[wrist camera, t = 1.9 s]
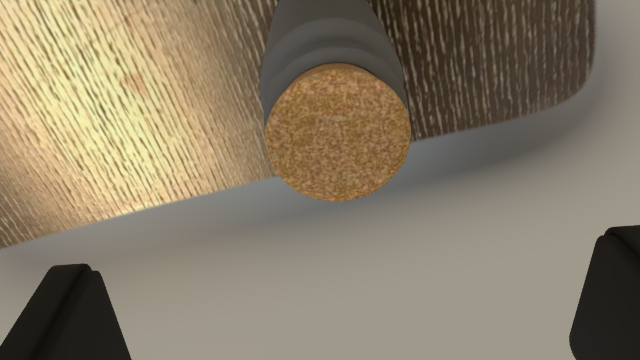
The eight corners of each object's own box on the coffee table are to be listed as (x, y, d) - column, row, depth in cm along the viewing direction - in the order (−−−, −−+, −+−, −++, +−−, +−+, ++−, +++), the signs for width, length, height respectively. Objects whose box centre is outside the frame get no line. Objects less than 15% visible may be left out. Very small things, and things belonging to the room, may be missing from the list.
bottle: (269, 72, 30) (245, 211, 17) (274, -33, 27) (250, 42, 14) (365, 80, 31) (410, 222, 18) (380, -22, 28) (448, 60, 15)
